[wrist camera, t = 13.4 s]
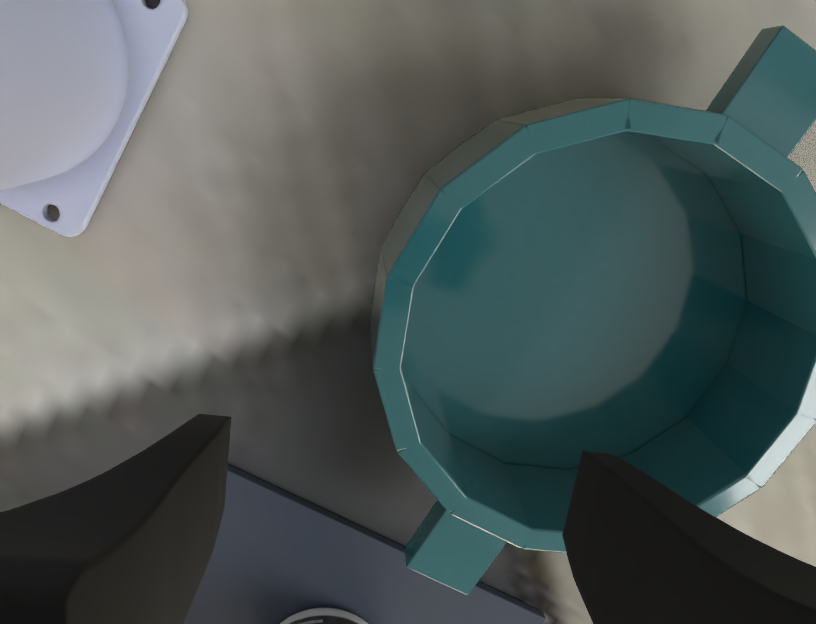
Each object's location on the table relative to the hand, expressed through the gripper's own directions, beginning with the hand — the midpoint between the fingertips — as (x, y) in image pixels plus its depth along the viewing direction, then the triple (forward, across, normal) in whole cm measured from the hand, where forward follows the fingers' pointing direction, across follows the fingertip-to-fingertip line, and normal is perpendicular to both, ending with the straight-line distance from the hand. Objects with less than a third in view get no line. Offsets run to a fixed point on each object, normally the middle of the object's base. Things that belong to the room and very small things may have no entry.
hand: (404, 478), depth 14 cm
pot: (+10, -6, -1) cm, 12 cm away
